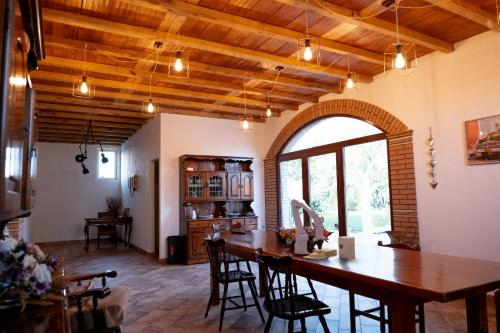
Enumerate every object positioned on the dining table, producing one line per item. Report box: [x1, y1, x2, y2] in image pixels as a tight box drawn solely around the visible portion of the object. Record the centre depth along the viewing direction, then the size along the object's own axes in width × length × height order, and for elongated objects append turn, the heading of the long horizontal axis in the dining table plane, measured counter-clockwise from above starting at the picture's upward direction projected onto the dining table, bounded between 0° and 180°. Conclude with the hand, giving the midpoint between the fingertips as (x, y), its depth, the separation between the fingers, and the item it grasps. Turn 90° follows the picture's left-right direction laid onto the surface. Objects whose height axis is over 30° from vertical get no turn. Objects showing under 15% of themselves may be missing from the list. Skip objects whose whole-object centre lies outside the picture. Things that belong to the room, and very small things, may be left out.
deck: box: [312, 247, 338, 258], centre depth 278 cm, size 14×12×4 cm
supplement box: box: [337, 236, 356, 260], centre depth 265 cm, size 9×9×15 cm
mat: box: [303, 255, 329, 260], centre depth 268 cm, size 14×13×1 cm
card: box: [308, 252, 324, 258], centre depth 269 cm, size 9×6×2 cm, turn 46°
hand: (319, 249), depth 273 cm, fingers closed
